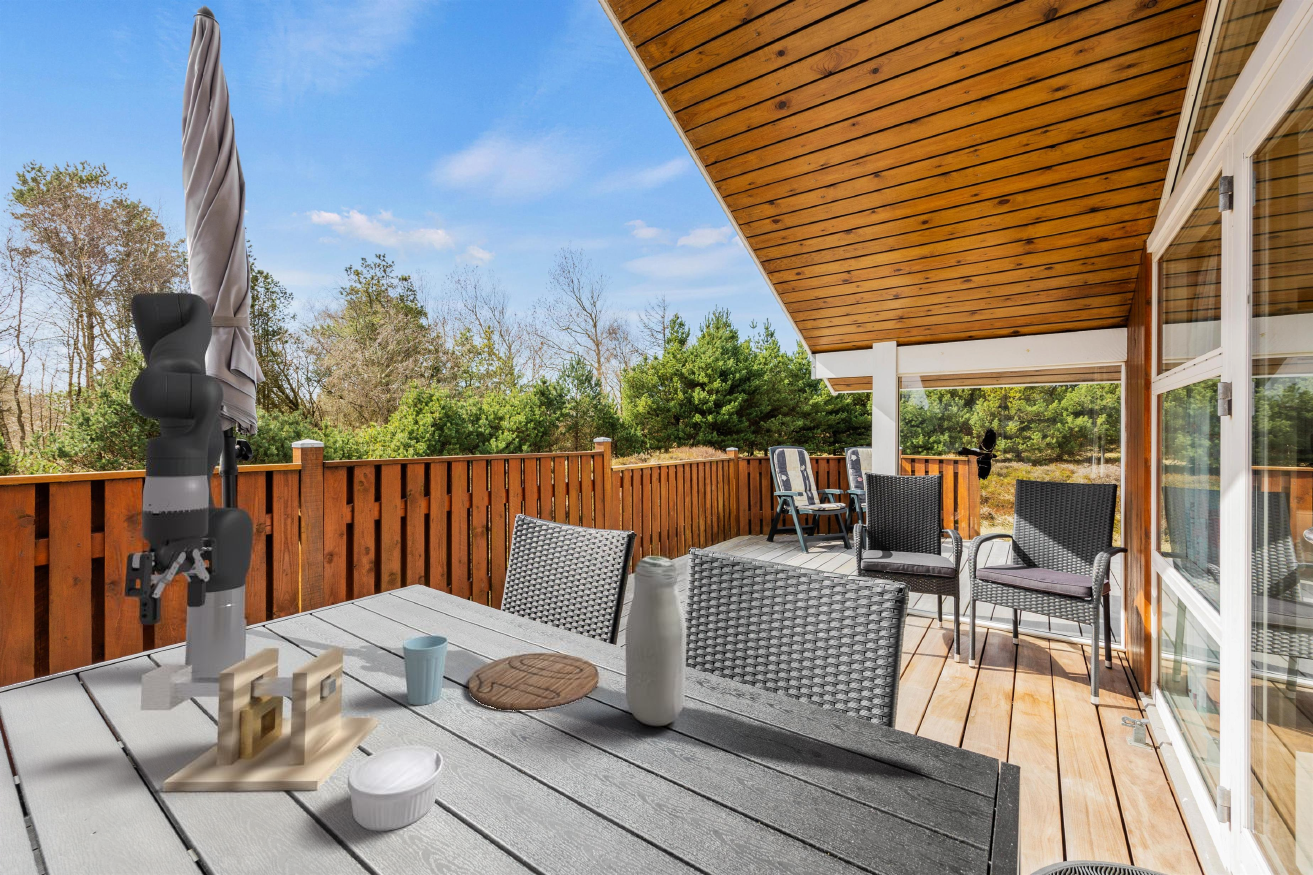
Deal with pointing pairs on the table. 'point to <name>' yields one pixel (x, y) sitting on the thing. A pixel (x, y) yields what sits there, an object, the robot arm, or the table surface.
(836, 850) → the table surface
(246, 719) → the spacer ring
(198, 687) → the shaft
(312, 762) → the bracket
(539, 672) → the trivet
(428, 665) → the cup
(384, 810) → the ramekin
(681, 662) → the glass bottle
